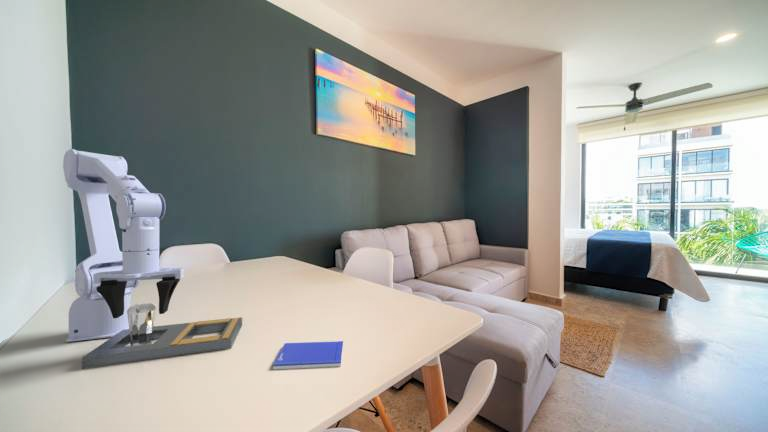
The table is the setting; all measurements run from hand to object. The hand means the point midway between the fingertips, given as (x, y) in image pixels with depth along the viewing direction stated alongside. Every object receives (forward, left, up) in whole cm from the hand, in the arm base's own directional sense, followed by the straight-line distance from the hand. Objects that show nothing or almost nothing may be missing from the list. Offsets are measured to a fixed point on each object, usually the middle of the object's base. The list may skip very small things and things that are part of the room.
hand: (141, 314), depth 55 cm
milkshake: (0, 0, -7) cm, 7 cm away
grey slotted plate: (+6, 0, -7) cm, 9 cm away
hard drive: (+34, -14, -8) cm, 37 cm away
